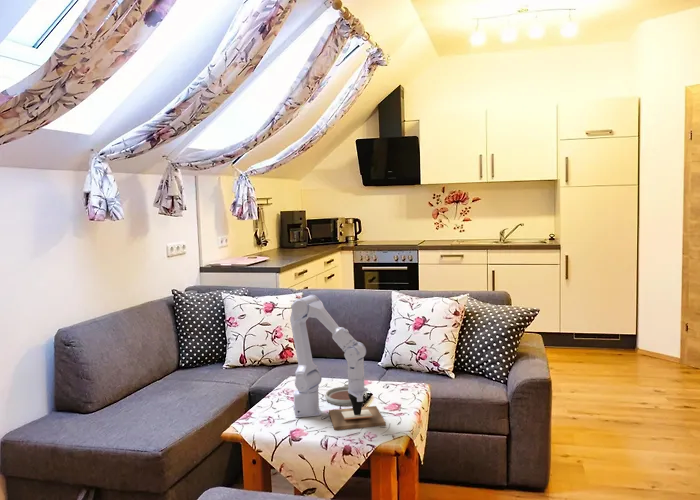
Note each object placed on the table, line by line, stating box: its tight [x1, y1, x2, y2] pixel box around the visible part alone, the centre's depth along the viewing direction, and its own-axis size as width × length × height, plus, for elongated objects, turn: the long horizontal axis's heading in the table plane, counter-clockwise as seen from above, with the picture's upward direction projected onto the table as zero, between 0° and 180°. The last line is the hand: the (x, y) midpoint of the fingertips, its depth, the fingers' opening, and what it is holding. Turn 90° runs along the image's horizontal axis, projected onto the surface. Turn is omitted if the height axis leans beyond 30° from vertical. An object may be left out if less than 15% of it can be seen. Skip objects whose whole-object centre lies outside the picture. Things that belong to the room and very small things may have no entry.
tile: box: [341, 409, 372, 420], centre depth 220 cm, size 10×9×1 cm
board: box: [328, 405, 386, 431], centre depth 221 cm, size 18×16×1 cm
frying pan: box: [324, 384, 368, 407], centre depth 248 cm, size 17×3×28 cm
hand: (357, 414), depth 218 cm, fingers closed, pressing on tile
